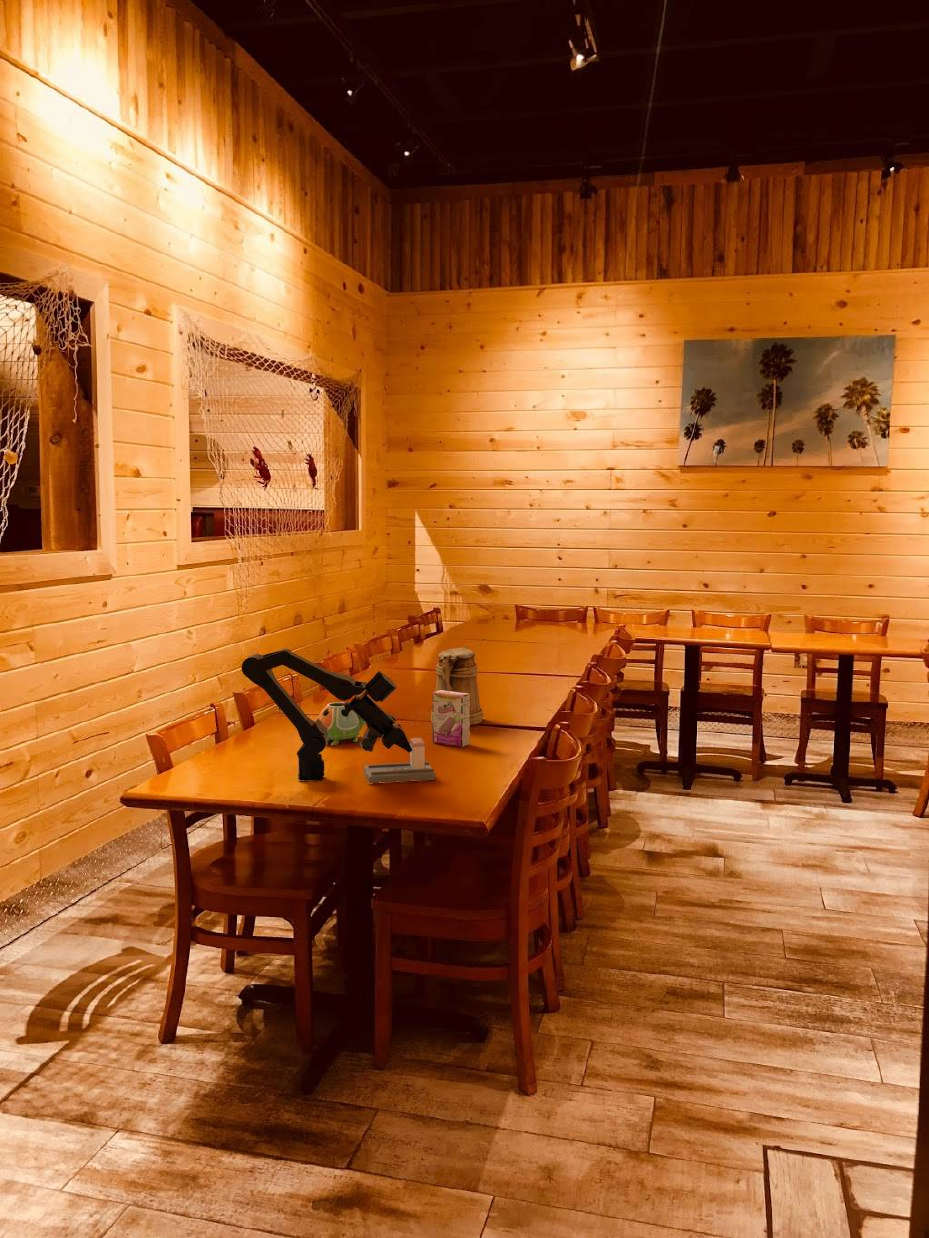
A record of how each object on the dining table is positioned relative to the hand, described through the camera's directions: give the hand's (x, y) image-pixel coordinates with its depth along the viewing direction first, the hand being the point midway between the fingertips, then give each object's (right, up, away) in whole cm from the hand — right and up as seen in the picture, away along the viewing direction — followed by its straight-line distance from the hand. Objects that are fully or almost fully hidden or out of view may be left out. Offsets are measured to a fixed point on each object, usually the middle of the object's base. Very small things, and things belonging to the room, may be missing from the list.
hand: (410, 750), depth 269 cm
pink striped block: (+2, -5, +1) cm, 5 cm away
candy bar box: (+11, -3, +37) cm, 38 cm away
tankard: (+12, 0, +66) cm, 67 cm away
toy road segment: (-3, -7, 0) cm, 8 cm away
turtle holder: (-24, -2, +42) cm, 48 cm away
